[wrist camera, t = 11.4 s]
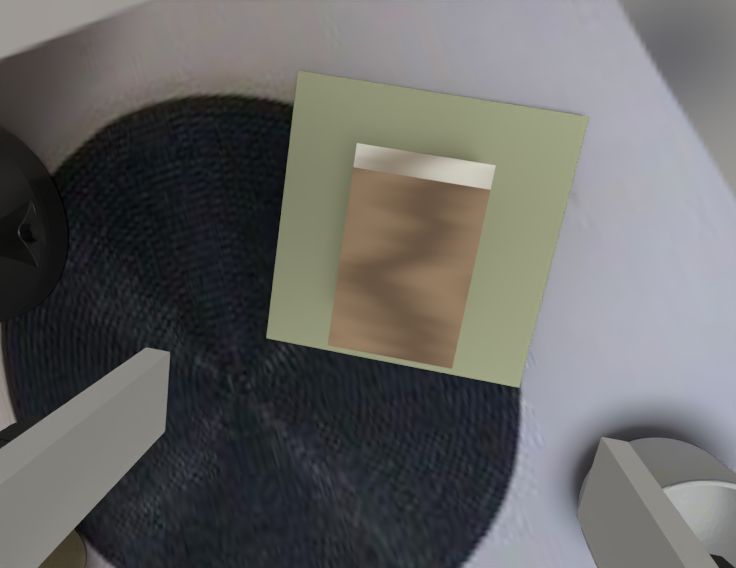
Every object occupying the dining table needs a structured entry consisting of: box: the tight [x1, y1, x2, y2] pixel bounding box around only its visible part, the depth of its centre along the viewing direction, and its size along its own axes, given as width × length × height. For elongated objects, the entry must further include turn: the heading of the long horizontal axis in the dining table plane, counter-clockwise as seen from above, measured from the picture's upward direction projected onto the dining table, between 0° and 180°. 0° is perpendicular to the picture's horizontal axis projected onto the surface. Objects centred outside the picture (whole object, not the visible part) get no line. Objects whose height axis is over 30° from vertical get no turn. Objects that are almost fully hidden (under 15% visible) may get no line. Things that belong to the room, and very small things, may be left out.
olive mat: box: [266, 71, 589, 387], centre depth 34 cm, size 18×18×1 cm
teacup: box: [578, 437, 736, 568], centre depth 33 cm, size 14×11×8 cm
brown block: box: [327, 143, 496, 369], centre depth 30 cm, size 7×7×11 cm
